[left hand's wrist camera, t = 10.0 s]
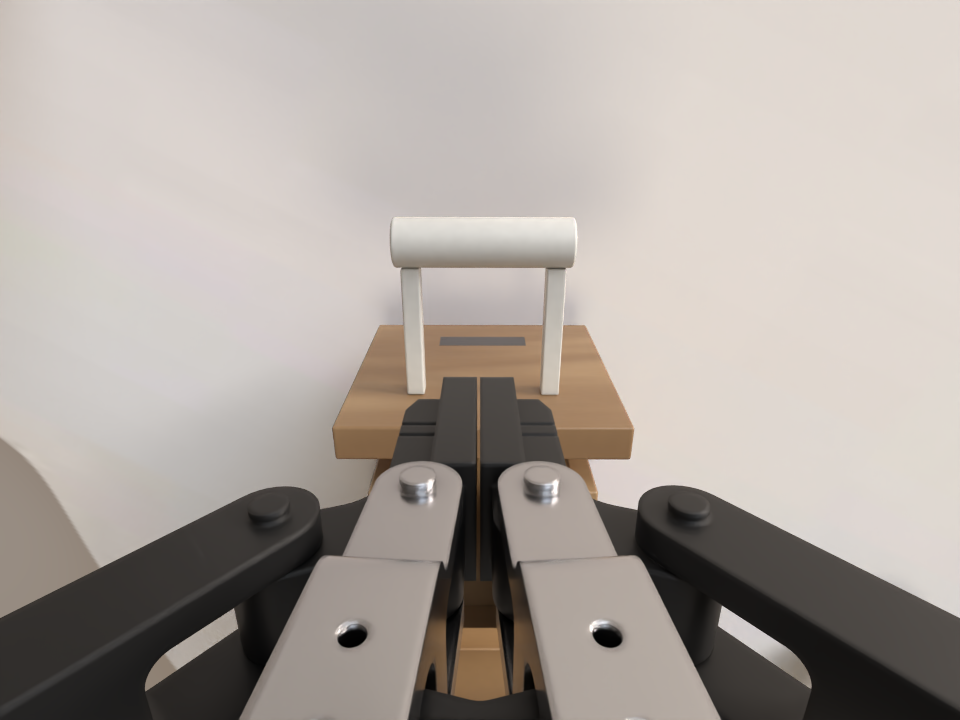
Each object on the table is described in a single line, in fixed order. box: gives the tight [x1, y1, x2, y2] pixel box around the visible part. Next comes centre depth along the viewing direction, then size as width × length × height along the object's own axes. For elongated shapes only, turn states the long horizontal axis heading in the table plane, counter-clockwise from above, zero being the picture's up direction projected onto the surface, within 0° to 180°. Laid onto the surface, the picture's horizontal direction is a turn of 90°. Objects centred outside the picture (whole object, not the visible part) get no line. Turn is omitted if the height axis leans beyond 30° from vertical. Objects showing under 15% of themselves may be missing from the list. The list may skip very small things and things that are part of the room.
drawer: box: [332, 217, 634, 628], centre depth 24 cm, size 23×9×9 cm, turn 0°
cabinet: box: [454, 628, 506, 701], centre depth 29 cm, size 18×11×11 cm, turn 0°
